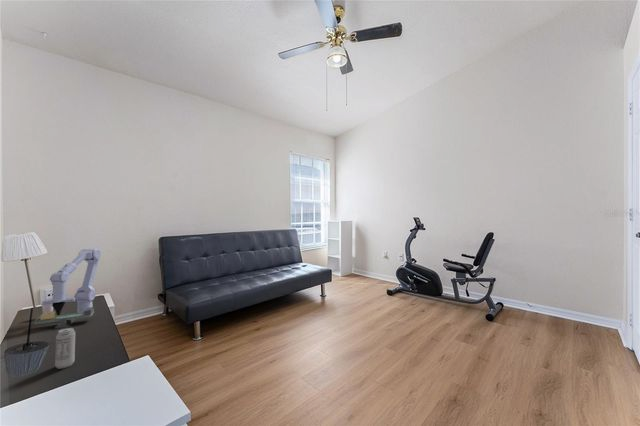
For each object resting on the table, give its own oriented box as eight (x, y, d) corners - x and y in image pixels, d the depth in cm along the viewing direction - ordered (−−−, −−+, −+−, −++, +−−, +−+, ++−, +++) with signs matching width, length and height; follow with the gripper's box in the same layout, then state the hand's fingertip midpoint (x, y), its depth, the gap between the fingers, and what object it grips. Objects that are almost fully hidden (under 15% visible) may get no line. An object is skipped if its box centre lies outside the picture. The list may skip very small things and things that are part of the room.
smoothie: (38, 318, 174) (39, 296, 175) (52, 315, 180) (52, 294, 180) (42, 319, 171) (43, 297, 172) (56, 316, 177) (56, 295, 177)
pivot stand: (62, 322, 166) (62, 314, 167) (75, 320, 169) (75, 312, 169) (55, 328, 156) (55, 320, 156) (68, 326, 159) (68, 318, 159)
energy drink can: (78, 361, 118) (79, 327, 118) (65, 369, 112) (66, 332, 112) (64, 362, 117) (65, 327, 118) (50, 369, 111) (52, 333, 112)
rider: (44, 318, 160) (44, 312, 160) (57, 316, 163) (57, 310, 163) (40, 321, 156) (41, 315, 156) (54, 319, 159) (54, 313, 159)
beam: (40, 320, 161) (40, 313, 161) (94, 313, 173) (94, 306, 173) (33, 325, 153) (34, 317, 153) (90, 317, 165) (90, 310, 165)
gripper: (39, 295, 155) (39, 319, 154) (72, 292, 162) (72, 314, 161) (44, 292, 161) (44, 315, 160) (76, 289, 168) (75, 311, 167)
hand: (58, 315), depth 161 cm, fingers closed
